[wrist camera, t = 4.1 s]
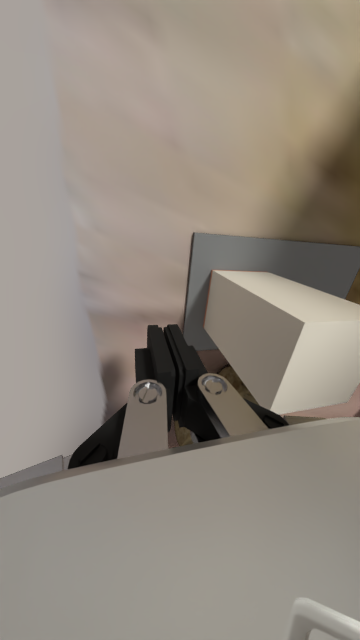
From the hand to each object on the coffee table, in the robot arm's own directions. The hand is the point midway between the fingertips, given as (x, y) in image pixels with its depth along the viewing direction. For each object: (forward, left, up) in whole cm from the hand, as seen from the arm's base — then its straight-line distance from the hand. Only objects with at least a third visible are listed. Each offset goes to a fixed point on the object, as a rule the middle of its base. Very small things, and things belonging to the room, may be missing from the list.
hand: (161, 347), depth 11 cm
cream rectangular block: (0, +9, -8) cm, 12 cm away
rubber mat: (0, +14, -8) cm, 16 cm away
